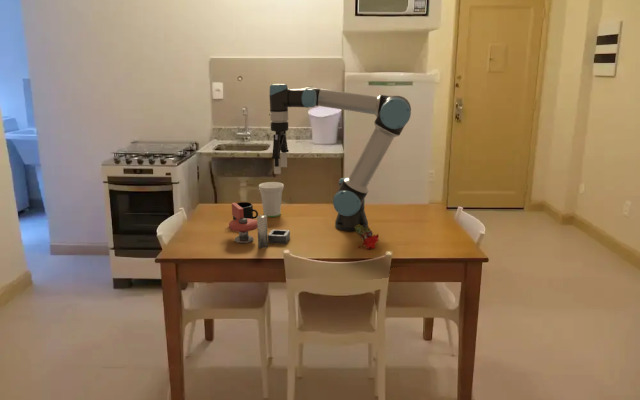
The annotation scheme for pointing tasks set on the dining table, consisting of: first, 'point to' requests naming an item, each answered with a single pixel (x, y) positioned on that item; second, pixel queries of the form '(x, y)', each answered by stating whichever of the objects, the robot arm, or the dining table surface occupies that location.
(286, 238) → the collar
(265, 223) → the peg
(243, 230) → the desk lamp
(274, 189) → the cup
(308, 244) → the dining table surface
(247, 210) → the mug
